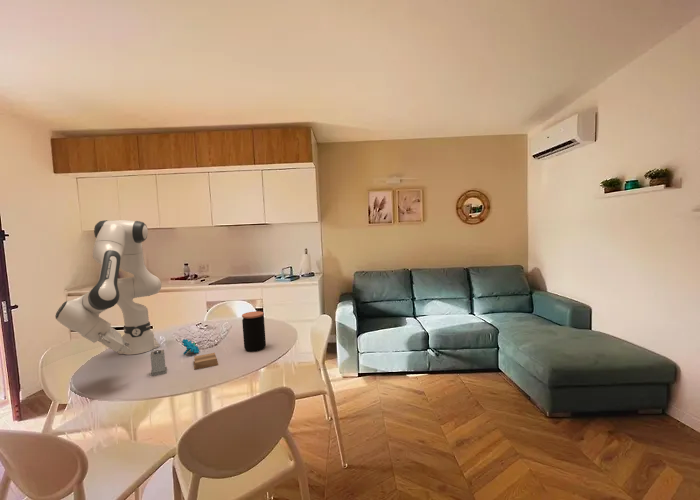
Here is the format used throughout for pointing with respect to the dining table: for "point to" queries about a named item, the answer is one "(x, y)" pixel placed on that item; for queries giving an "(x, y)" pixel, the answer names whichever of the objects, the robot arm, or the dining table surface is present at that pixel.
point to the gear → (190, 346)
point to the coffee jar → (253, 331)
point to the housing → (158, 363)
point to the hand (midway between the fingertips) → (129, 348)
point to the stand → (205, 361)
